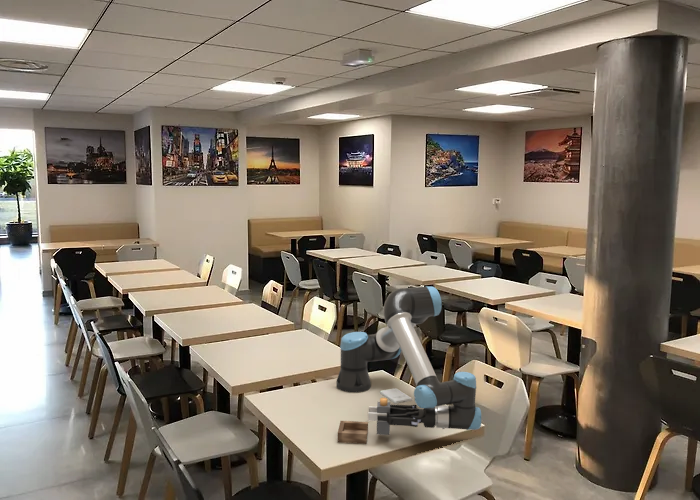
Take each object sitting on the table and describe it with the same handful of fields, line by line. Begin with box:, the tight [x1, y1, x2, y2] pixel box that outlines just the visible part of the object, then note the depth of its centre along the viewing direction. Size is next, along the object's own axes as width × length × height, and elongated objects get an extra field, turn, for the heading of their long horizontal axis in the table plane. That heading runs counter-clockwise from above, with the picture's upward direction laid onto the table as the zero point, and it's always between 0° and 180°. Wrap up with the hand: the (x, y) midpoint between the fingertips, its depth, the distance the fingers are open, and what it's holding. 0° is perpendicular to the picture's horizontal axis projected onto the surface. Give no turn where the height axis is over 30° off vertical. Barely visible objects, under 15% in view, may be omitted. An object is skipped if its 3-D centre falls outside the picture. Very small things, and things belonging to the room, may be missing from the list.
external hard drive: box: [379, 387, 413, 405], centre depth 238 cm, size 2×8×12 cm
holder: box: [336, 420, 369, 445], centre depth 200 cm, size 10×10×4 cm
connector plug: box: [376, 397, 391, 436], centre depth 198 cm, size 4×4×12 cm
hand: (368, 413), depth 199 cm, fingers closed on connector plug, 4 cm apart
